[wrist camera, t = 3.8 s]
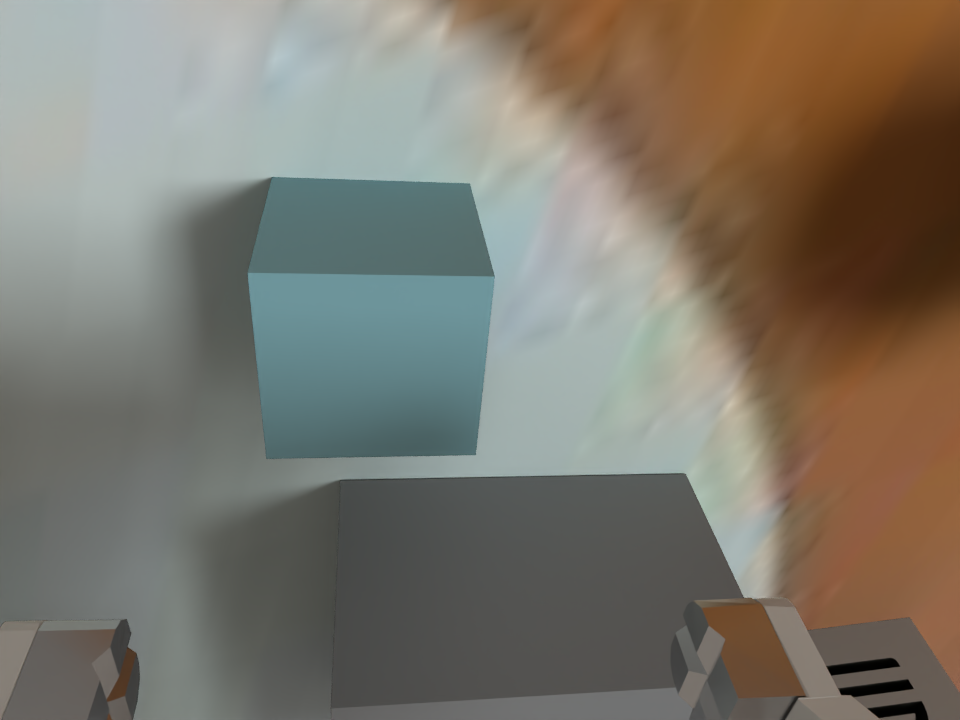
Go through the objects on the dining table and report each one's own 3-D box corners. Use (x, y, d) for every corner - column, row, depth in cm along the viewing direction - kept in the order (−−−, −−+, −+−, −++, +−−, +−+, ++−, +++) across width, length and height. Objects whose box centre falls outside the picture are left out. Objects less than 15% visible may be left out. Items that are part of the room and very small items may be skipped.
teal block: (469, 182, 20) (494, 276, 16) (456, 341, 23) (475, 454, 19) (272, 175, 20) (247, 272, 15) (284, 340, 22) (266, 458, 18)
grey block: (685, 473, 27) (783, 680, 21) (621, 672, 34) (679, 873, 28) (340, 480, 26) (330, 708, 19) (345, 687, 33) (339, 906, 26)
